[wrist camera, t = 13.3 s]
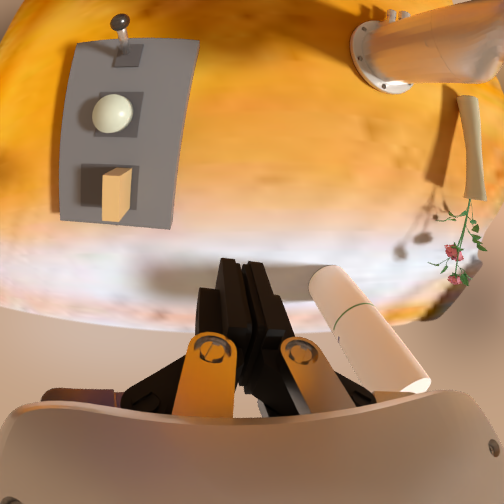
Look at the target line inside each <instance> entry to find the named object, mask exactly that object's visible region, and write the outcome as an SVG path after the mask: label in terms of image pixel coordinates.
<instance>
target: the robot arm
mask: <svg viewBox="0 0 504 504" xmlns="http://www.w3.org/2000/svg"><path fill="white" fill-rule="evenodd" d="M395 19H396V11H394V10H391V9H389V10H387V20H385V21H383V22H381V21H368V22H365V23H362V24H360V25H359V26H358V27H356V29H355V30H354V31H353V33H352V36H351V39H350V52H351V56H352V59H353V62H354V65H355V66H356V68H357V70H358V72H359V73H360V75H361V76H362V77H363V78H364V80H366V81H367V82H368V83H369V84H370V85H371V86H372V87H374V88H375V89H377V90H379V91H381V92H384V93H387V94H401V93H404V92H406V91H408V90H409V89H410V88H411V87H412V86H413V84H414V83H474V84H480V83H485V82H487V81H489V80H491V79H492V78H493V77H494V76H495V75H496V74H497V72H498V71H499V70H500V68H501V67H502V65H503V64H504V0H471V1H467V2H463V3H458V4H455V5H450V6H446V7H442V8H438V9H434V10H431V11H427V12H423V13H420V14H417V15H413V16H410V14H409V13H408V12H406V11H399V18H398V21H395ZM238 383H239V386H244V392H245V394H252V395H253V396H255V397H256V398H258V401H257V403H258V407H259V410H260V413H261V415H262V418H233V406H234V393H235V390H236V387H237V384H238ZM0 504H504V448H503V446H502V444H501V442H500V440H499V438H498V436H497V434H496V433H495V431H494V429H493V427H492V426H491V424H490V422H489V420H488V419H487V417H486V416H485V414H484V413H483V411H482V410H481V408H480V407H479V405H478V404H477V403H476V402H475V400H474V399H473V398H472V397H471V396H470V395H468V394H466V393H464V392H461V391H454V390H435V391H427V392H422V393H418V394H415V393H413V392H389V391H373V392H372V393H371V392H370V391H369V390H367V389H366V388H364V387H362V386H360V385H358V384H357V383H355V382H353V381H351V380H349V379H348V378H346V377H344V376H342V375H341V374H339V373H337V372H335V371H334V370H333V369H332V367H331V365H330V364H329V362H328V361H327V359H326V357H325V356H324V354H323V353H322V351H321V350H320V348H319V347H318V346H317V345H316V344H315V343H314V342H312V341H310V340H308V339H306V338H302V337H295V335H294V332H293V330H292V327H291V324H290V321H289V319H288V316H287V313H286V311H285V308H284V305H283V303H282V300H281V298H280V296H278V295H274V294H273V291H272V288H271V286H270V283H269V280H268V277H267V274H266V271H265V268H264V265H263V263H260V262H252V261H249V262H248V264H243V266H242V270H241V267H240V264H239V263H236V262H235V259H227V258H221V260H220V265H219V270H218V276H217V282H216V287H215V289H209V288H199V293H198V301H197V309H196V323H195V336H194V337H193V338H192V339H191V341H190V343H189V345H188V349H187V353H186V355H184V356H183V357H181V358H179V359H178V360H176V361H174V362H173V363H171V364H170V365H168V366H166V367H165V368H163V369H161V370H160V371H158V372H156V373H154V374H153V375H151V376H149V377H147V378H146V379H144V380H142V381H140V382H139V383H137V384H135V385H134V386H132V387H130V388H129V389H127V390H126V391H125V392H119V393H118V392H114V390H113V389H110V390H109V389H106V390H105V389H103V390H101V389H100V390H99V389H71V388H52V389H50V390H48V391H46V393H45V394H44V395H43V396H42V398H41V402H34V403H29V404H25V405H22V406H20V407H18V408H16V409H15V410H14V411H12V412H11V413H10V414H9V416H8V417H7V418H6V420H5V422H4V423H3V425H2V427H1V429H0Z"/></svg>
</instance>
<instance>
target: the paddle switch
mask: <svg viewBox="0 0 504 504" xmlns="http://www.w3.org/2000/svg"><path fill="white" fill-rule="evenodd" d="M131 176H132V168H115V169H113V170H111V171H109V172H108V173H106V174H104V175H103V183H102V221H112V222H119V221H120V220H121V219H122V217H123V216H124V215H125V213H126V212H127V211H128V210H129V209H130V192H131Z"/></svg>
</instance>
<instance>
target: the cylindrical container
mask: <svg viewBox="0 0 504 504" xmlns="http://www.w3.org/2000/svg"><path fill="white" fill-rule="evenodd" d="M308 288H309V293H310V295H311V297H312V298H313V300H314V302H315V303H316V305H317V307H318V308H319V310H320V312H321V314H322V315H323V317H324V319H325V321H326V322H327V324H328V326H329V327H330V329H331V331H332V333H333V334H334V336H335V338H336V339H337V341H338V343H339V344H340V346H341V348H342V350H343V352H344V354H345V355H346V357H347V359H348V361H349V363H350V364H351V366H352V368H353V370H354V372H355V373H356V375H357V377H358V379H359V381H360V382H361V384H362V386H363V387H364V388H366V389H367V390H369V391H370V392H371V393H372V392H373V391H389V392H413V393H415V394H418V393H422V392H426V390H427V389H428V387H429V386H430V383H431V379H430V378H429V376H428V375H427V374H426V372H425V371H424V369H423V368H422V367H421V365H420V364H419V363H418V361H417V360H416V359H415V357H414V356H413V355H412V353H411V352H410V351H409V349H408V348H407V347H406V345H405V344H404V343H403V341H402V340H401V339H400V338H399V336H398V335H397V334H396V332H395V331H394V330H393V329H392V327H391V326H390V325H389V324H388V322H387V321H386V320H385V319H384V317H383V316H382V315H381V314H380V312H379V311H378V310H377V309H376V308H375V306H374V305H373V304H372V303H371V301H370V300H369V299H368V298H367V297H366V295H365V294H364V293H363V292H362V291H361V289H360V288H359V287H358V286H357V285H356V284H355V282H354V281H353V280H352V279H351V278H350V277H349V275H348V274H347V273H346V272H345V271H344V270H343V269H342V268H341V267H339V266H336V265H329V266H325V267H323V268H321V269H320V270H318V271H317V272H316V273H315V274H314V275H313V276H312V278H311V280H310V282H309V287H308Z"/></svg>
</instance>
